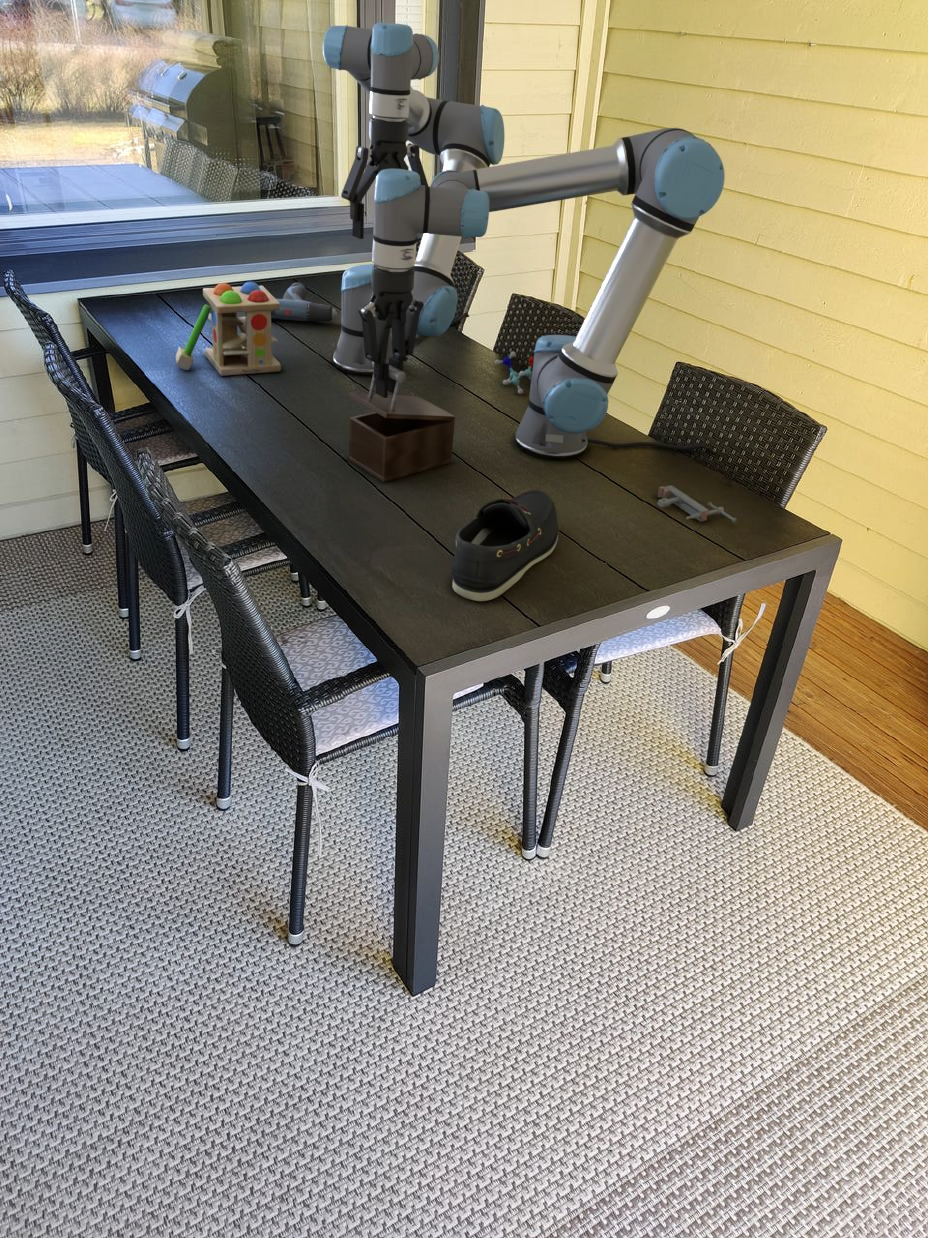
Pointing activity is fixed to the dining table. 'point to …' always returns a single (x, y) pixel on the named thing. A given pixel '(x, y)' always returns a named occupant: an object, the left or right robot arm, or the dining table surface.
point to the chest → (399, 444)
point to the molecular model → (513, 374)
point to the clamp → (669, 498)
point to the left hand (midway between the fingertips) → (385, 234)
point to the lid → (400, 402)
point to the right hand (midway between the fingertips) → (387, 393)
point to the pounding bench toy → (229, 347)
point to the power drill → (301, 307)
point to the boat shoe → (503, 544)
